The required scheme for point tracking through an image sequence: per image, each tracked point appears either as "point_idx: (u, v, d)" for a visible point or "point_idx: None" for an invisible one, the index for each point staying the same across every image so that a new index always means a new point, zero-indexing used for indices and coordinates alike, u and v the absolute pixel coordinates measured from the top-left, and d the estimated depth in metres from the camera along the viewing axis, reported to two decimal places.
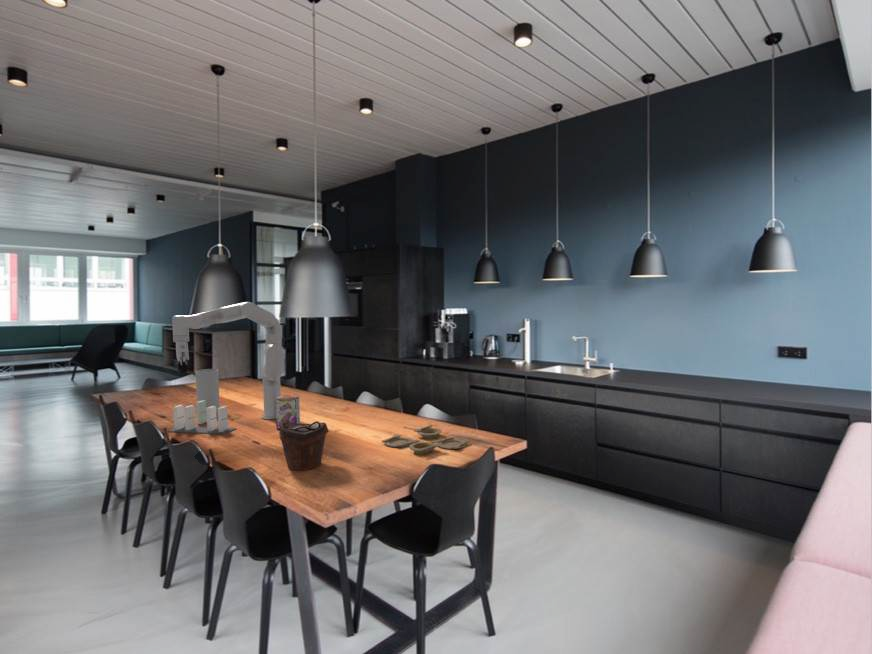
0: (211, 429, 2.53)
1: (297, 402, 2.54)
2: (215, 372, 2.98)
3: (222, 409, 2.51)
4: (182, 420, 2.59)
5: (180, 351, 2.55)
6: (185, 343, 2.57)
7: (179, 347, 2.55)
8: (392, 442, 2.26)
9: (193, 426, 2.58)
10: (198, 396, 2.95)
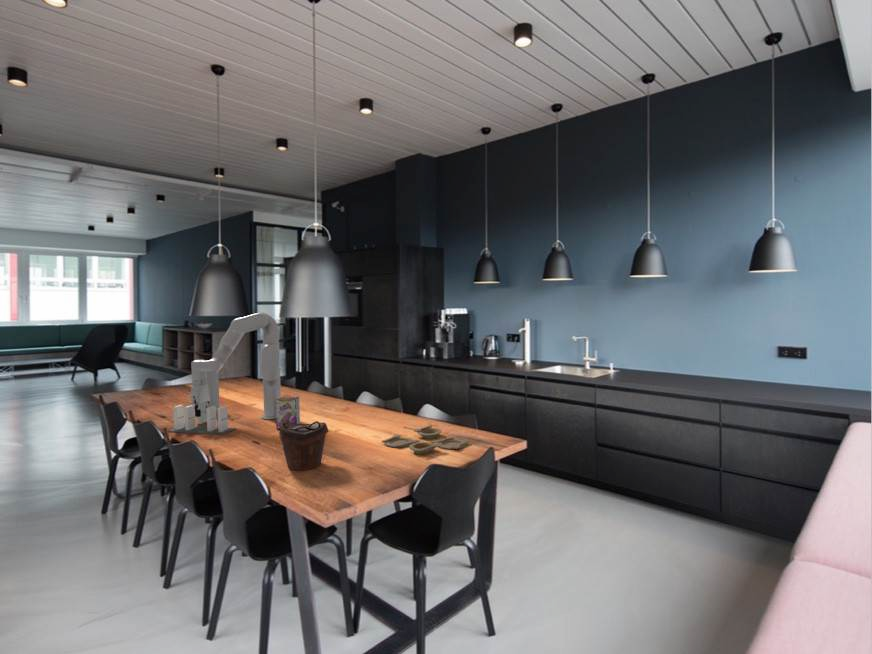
0: (211, 429, 2.53)
1: (297, 402, 2.54)
2: None
3: (222, 409, 2.51)
4: (182, 420, 2.59)
5: None
6: None
7: None
8: (392, 442, 2.26)
9: (193, 426, 2.58)
10: None
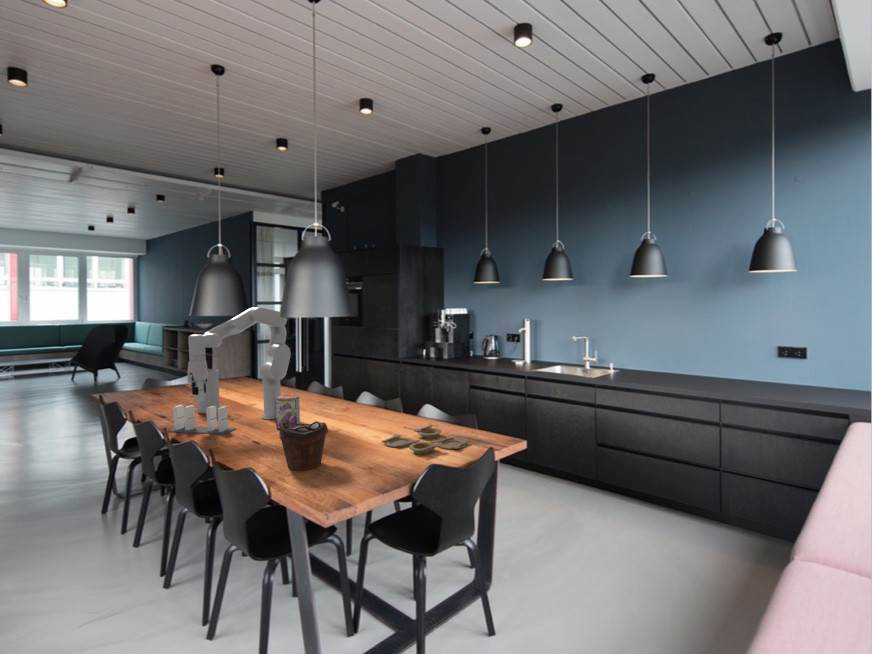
0: (211, 429, 2.53)
1: (297, 402, 2.54)
2: (215, 372, 2.98)
3: (222, 409, 2.51)
4: (182, 420, 2.59)
5: None
6: None
7: None
8: (392, 442, 2.26)
9: (193, 426, 2.58)
10: None
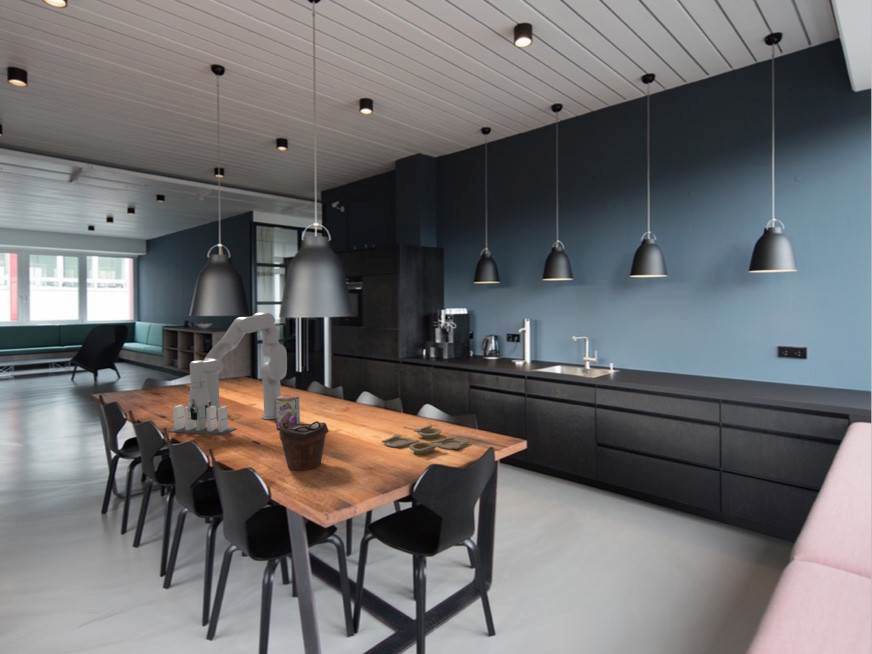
0: (211, 429, 2.53)
1: (297, 402, 2.54)
2: None
3: (222, 409, 2.51)
4: (182, 420, 2.59)
5: None
6: None
7: None
8: (392, 442, 2.26)
9: (193, 426, 2.58)
10: None
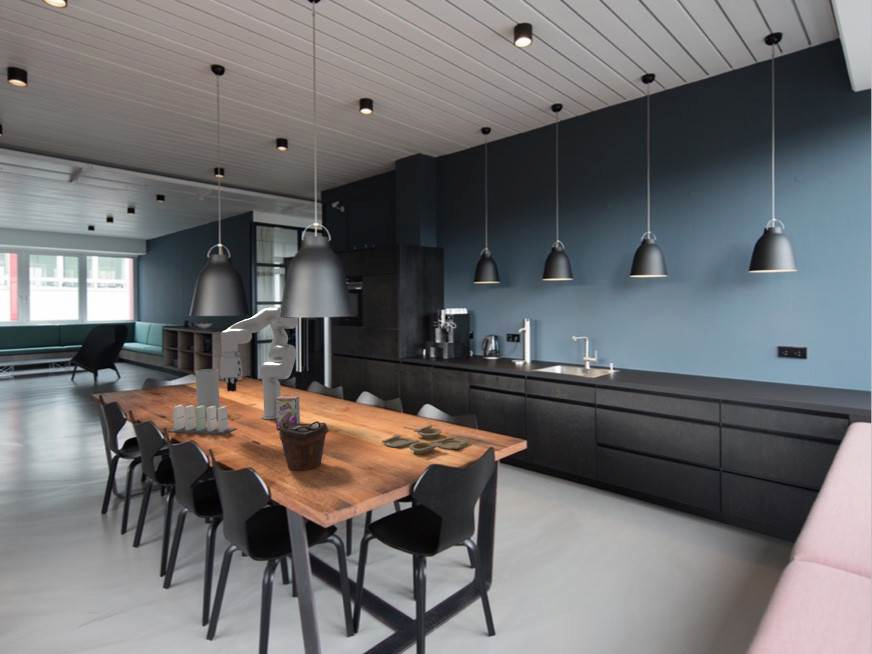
0: (211, 429, 2.53)
1: (297, 402, 2.54)
2: (215, 372, 2.98)
3: (222, 409, 2.51)
4: (182, 420, 2.59)
5: (237, 367, 2.48)
6: (239, 359, 2.50)
7: (236, 363, 2.47)
8: (392, 442, 2.27)
9: (193, 426, 2.58)
10: (198, 396, 2.95)
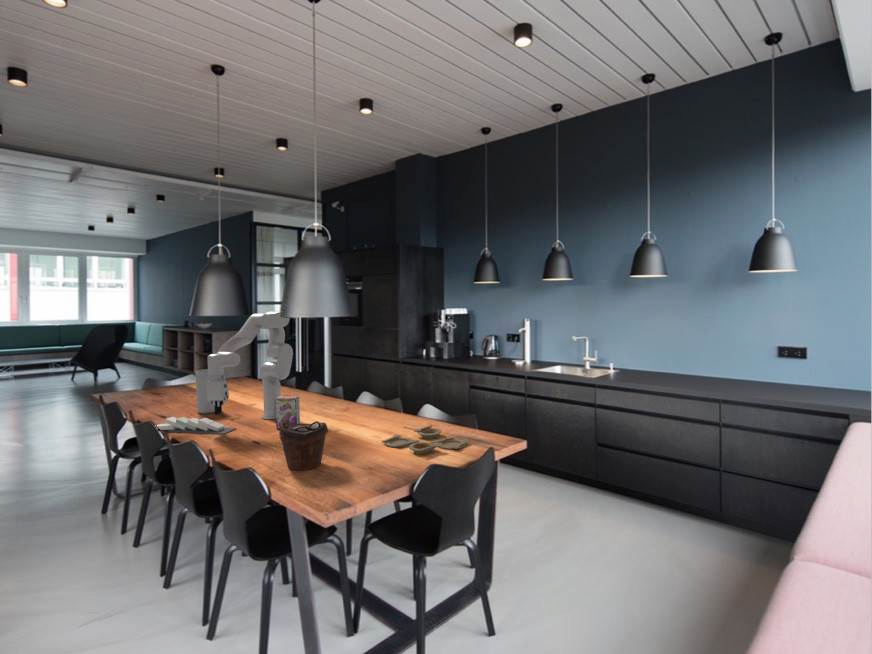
0: None
1: (297, 402, 2.54)
2: None
3: (201, 419, 2.54)
4: None
5: (224, 390, 2.50)
6: (226, 382, 2.53)
7: (222, 387, 2.50)
8: (392, 442, 2.27)
9: None
10: (198, 396, 2.95)
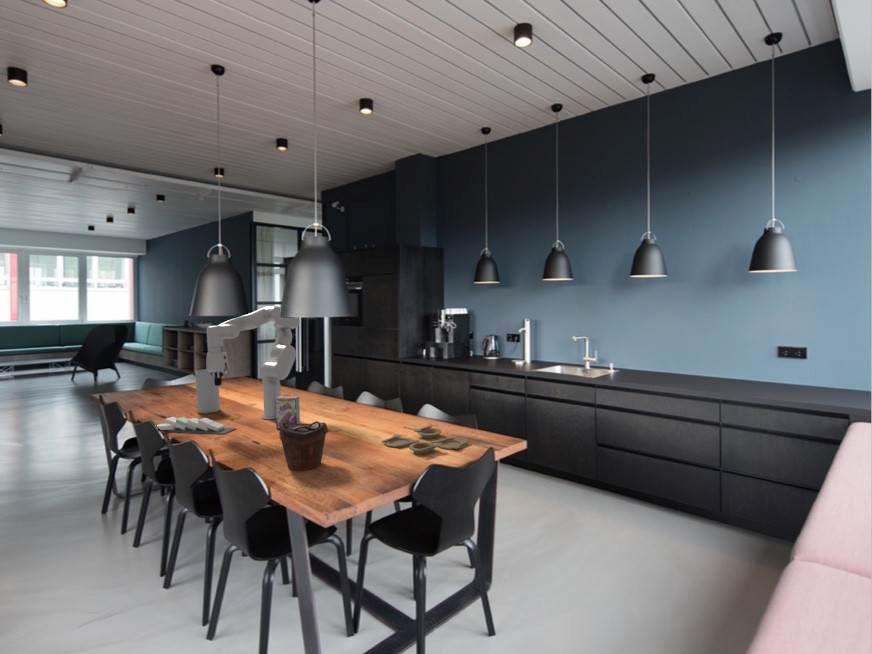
0: None
1: (297, 402, 2.54)
2: None
3: (201, 419, 2.54)
4: None
5: (223, 362, 2.52)
6: (225, 353, 2.54)
7: (222, 358, 2.52)
8: (392, 442, 2.27)
9: None
10: (198, 396, 2.95)
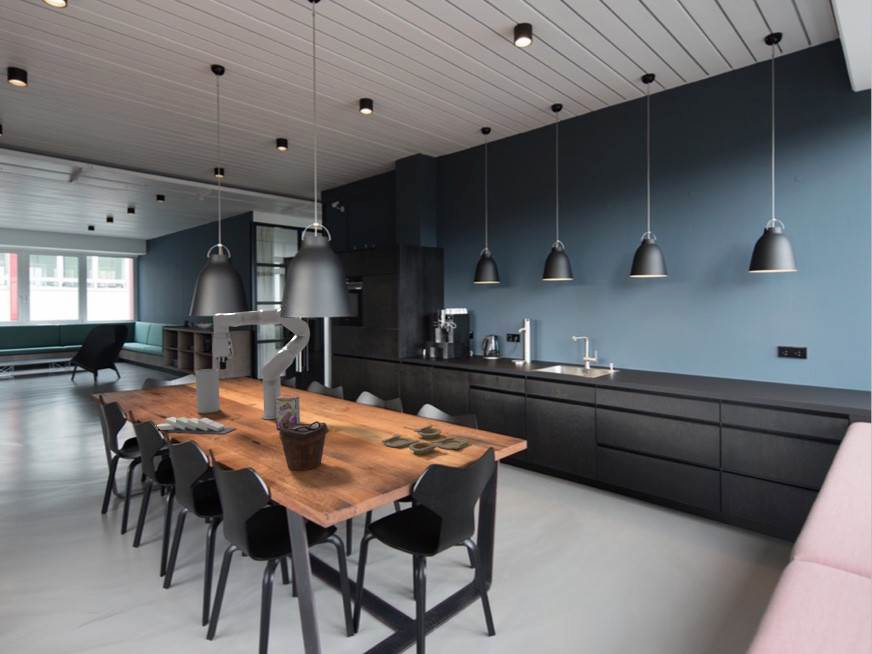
0: None
1: (297, 402, 2.54)
2: (215, 372, 2.98)
3: (201, 419, 2.54)
4: None
5: (228, 347, 2.71)
6: (230, 339, 2.73)
7: (227, 343, 2.71)
8: (392, 442, 2.27)
9: None
10: (198, 396, 2.95)
